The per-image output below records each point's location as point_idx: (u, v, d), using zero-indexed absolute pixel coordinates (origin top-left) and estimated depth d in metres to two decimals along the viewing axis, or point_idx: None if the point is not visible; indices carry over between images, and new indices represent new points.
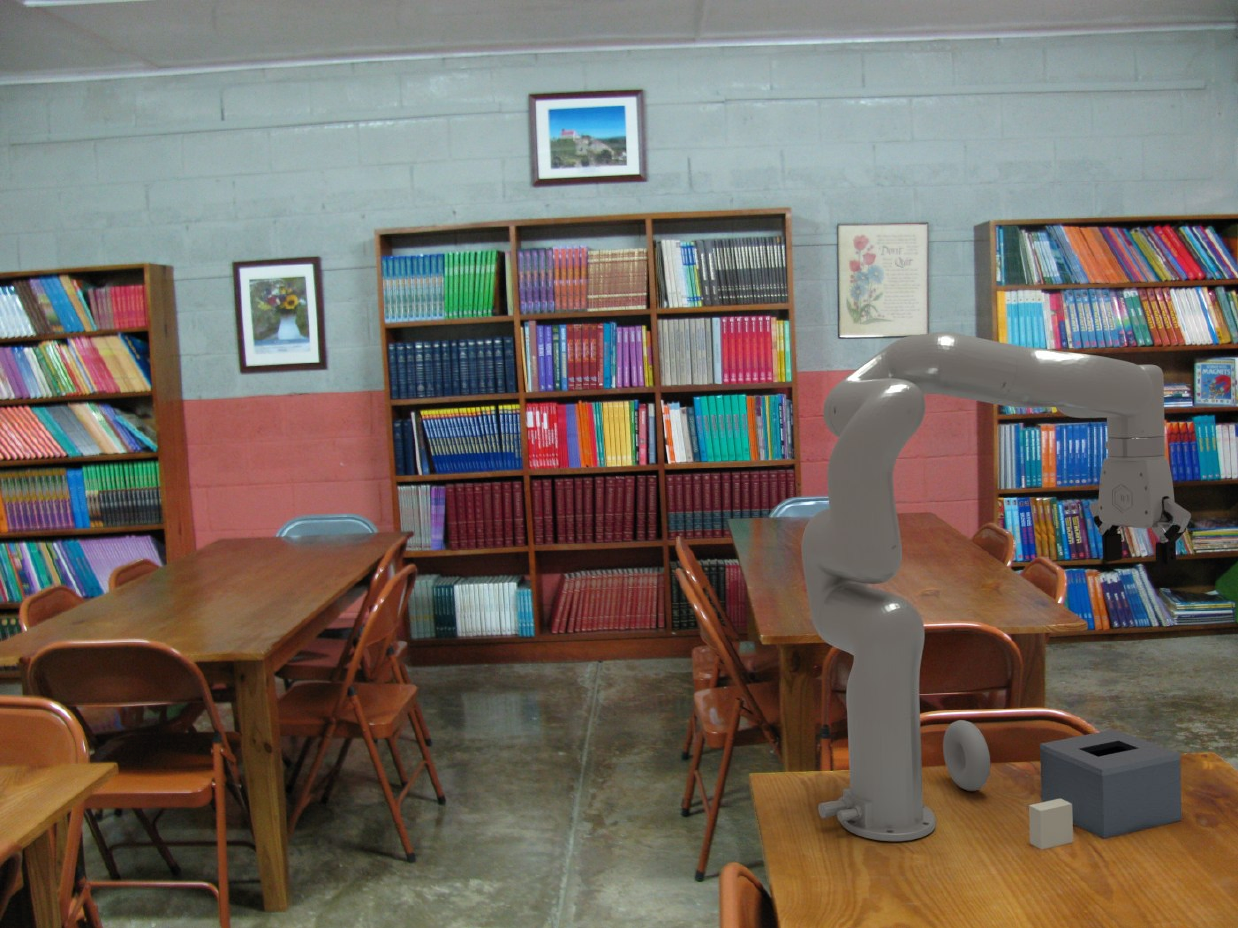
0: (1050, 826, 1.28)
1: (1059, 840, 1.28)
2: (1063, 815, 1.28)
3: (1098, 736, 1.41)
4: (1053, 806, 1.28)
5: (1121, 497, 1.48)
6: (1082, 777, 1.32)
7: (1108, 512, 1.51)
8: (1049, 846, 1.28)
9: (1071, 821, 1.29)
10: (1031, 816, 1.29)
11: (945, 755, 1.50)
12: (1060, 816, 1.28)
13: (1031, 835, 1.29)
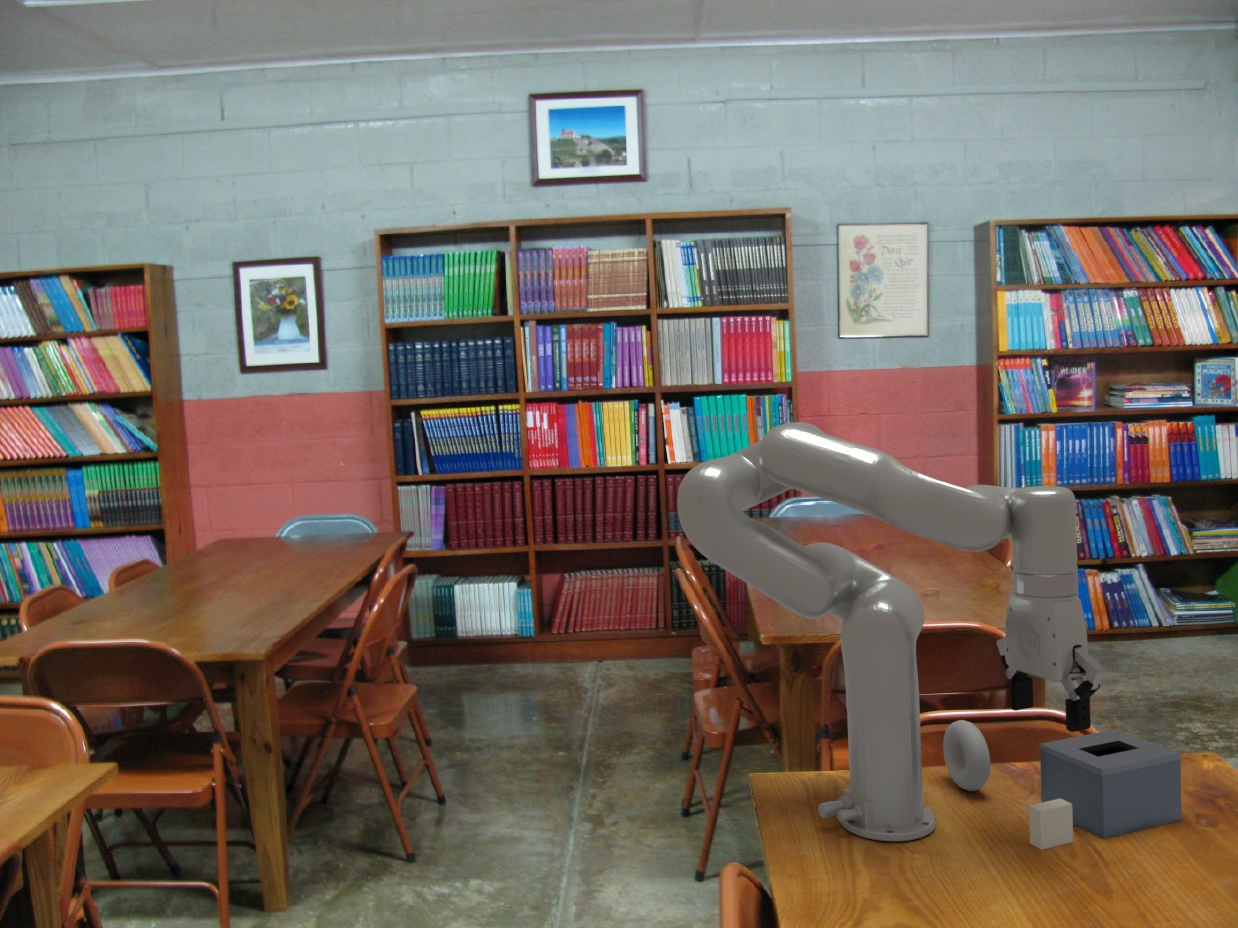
0: (1050, 826, 1.28)
1: (1059, 840, 1.28)
2: (1063, 815, 1.28)
3: (1098, 736, 1.41)
4: (1053, 806, 1.28)
5: (1027, 642, 1.27)
6: (1082, 777, 1.32)
7: (1014, 656, 1.29)
8: (1049, 846, 1.28)
9: (1071, 821, 1.29)
10: (1031, 816, 1.28)
11: (945, 755, 1.50)
12: (1060, 817, 1.28)
13: (1031, 835, 1.29)
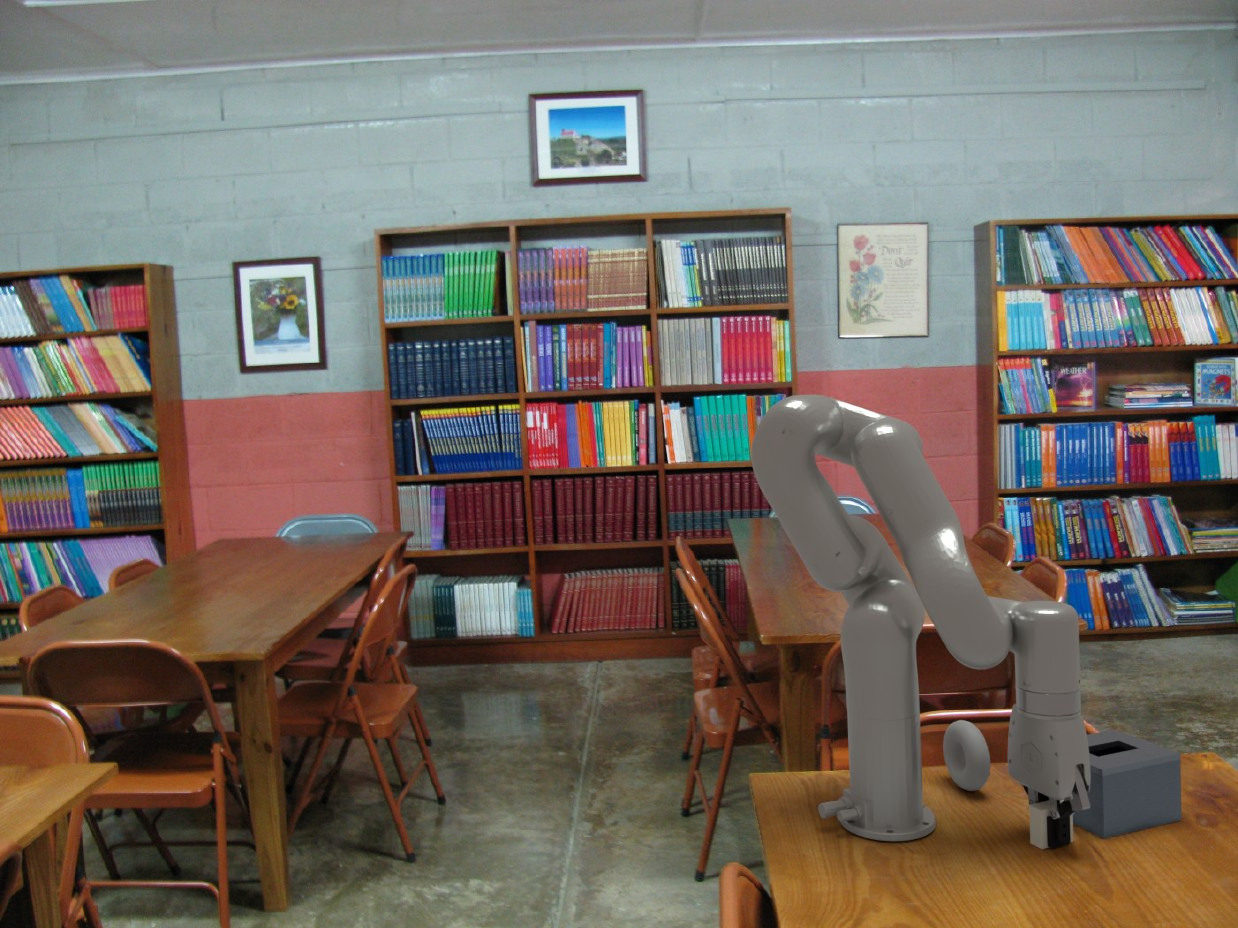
0: None
1: None
2: None
3: (1098, 736, 1.41)
4: None
5: (1030, 757, 1.28)
6: None
7: (1017, 769, 1.30)
8: None
9: (1072, 821, 1.29)
10: (1031, 815, 1.28)
11: (945, 755, 1.50)
12: None
13: (1032, 835, 1.29)
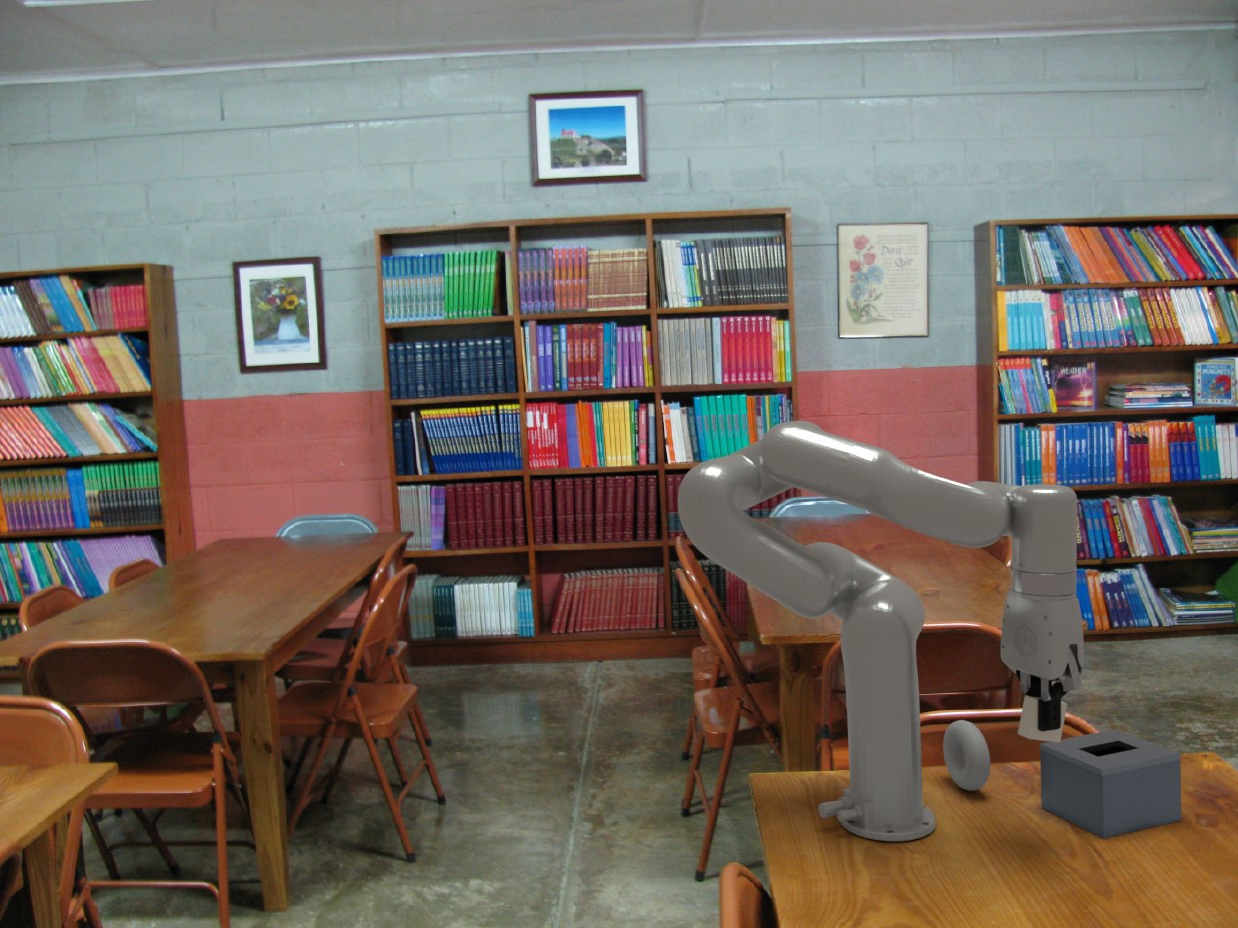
0: None
1: (1047, 735, 1.27)
2: None
3: (1098, 736, 1.41)
4: None
5: (1023, 639, 1.27)
6: (1082, 777, 1.32)
7: (1010, 653, 1.29)
8: (1036, 738, 1.27)
9: (1063, 721, 1.28)
10: (1025, 706, 1.28)
11: (945, 755, 1.50)
12: None
13: (1021, 725, 1.28)
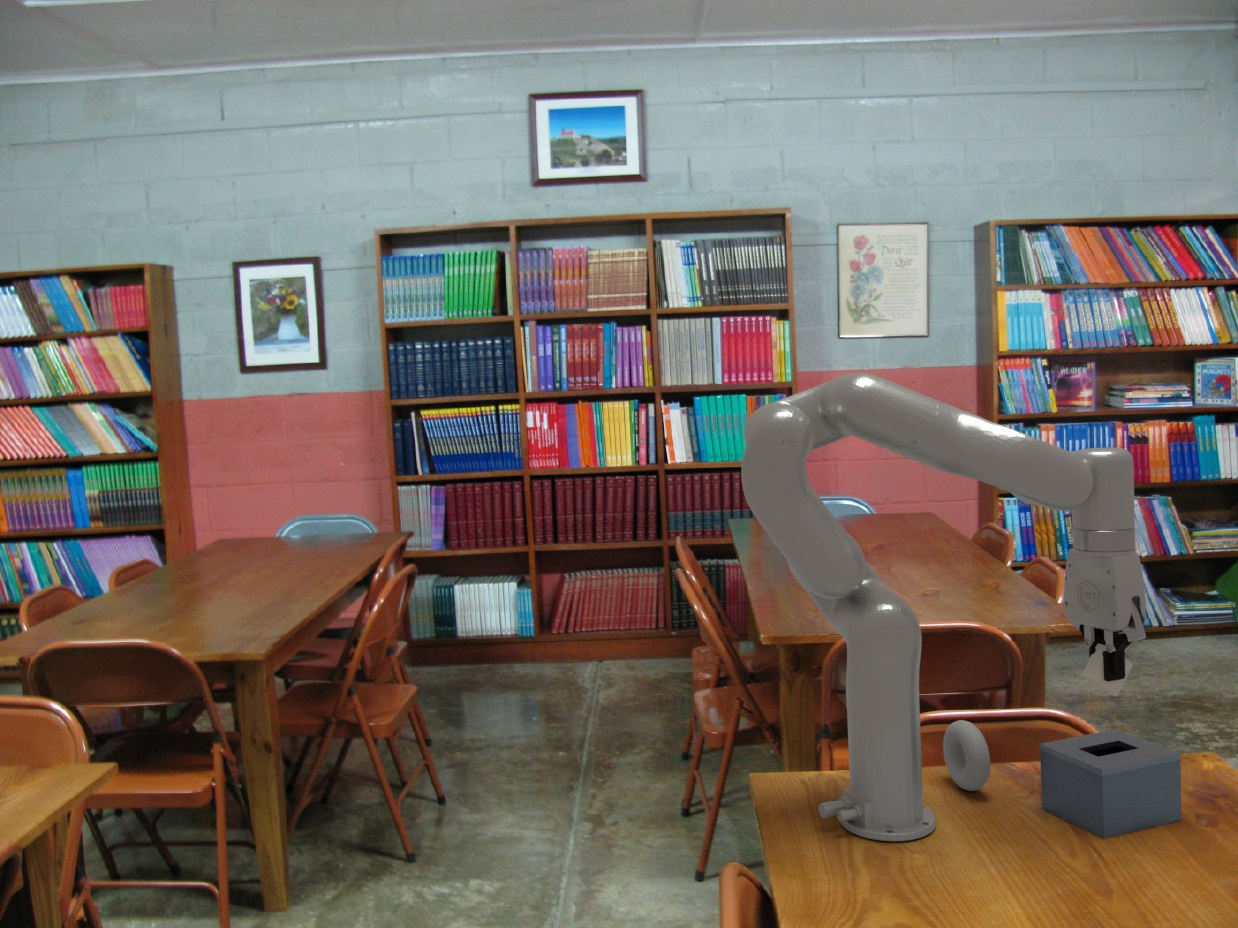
0: None
1: (1108, 685, 1.34)
2: None
3: (1098, 736, 1.41)
4: None
5: (1087, 594, 1.34)
6: (1082, 777, 1.32)
7: (1074, 609, 1.36)
8: (1099, 682, 1.34)
9: (1125, 678, 1.35)
10: (1095, 652, 1.35)
11: (945, 755, 1.50)
12: None
13: (1086, 668, 1.35)
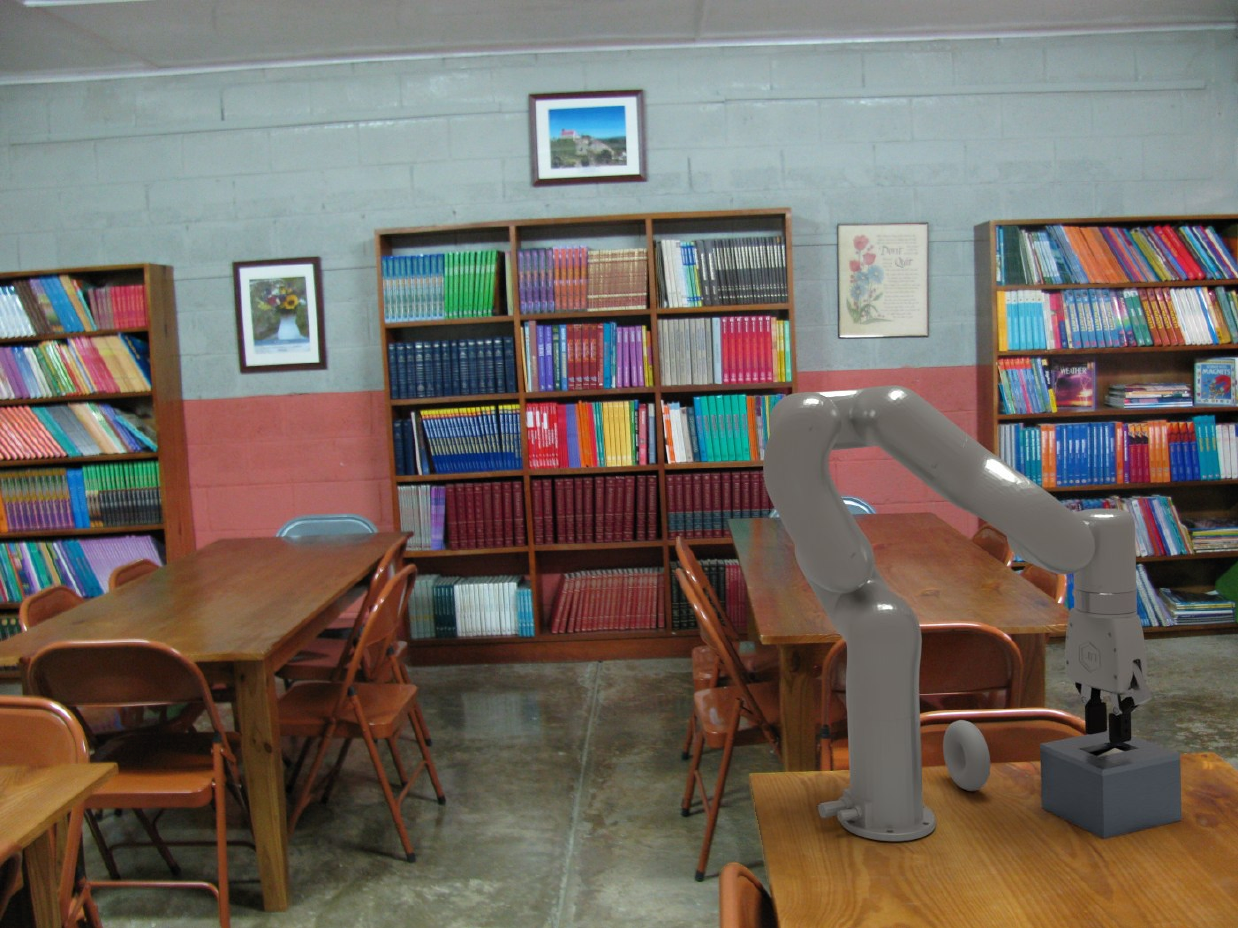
0: None
1: None
2: None
3: (1098, 736, 1.41)
4: None
5: (1088, 655, 1.34)
6: (1082, 777, 1.32)
7: (1075, 669, 1.37)
8: None
9: None
10: None
11: (945, 755, 1.50)
12: None
13: None
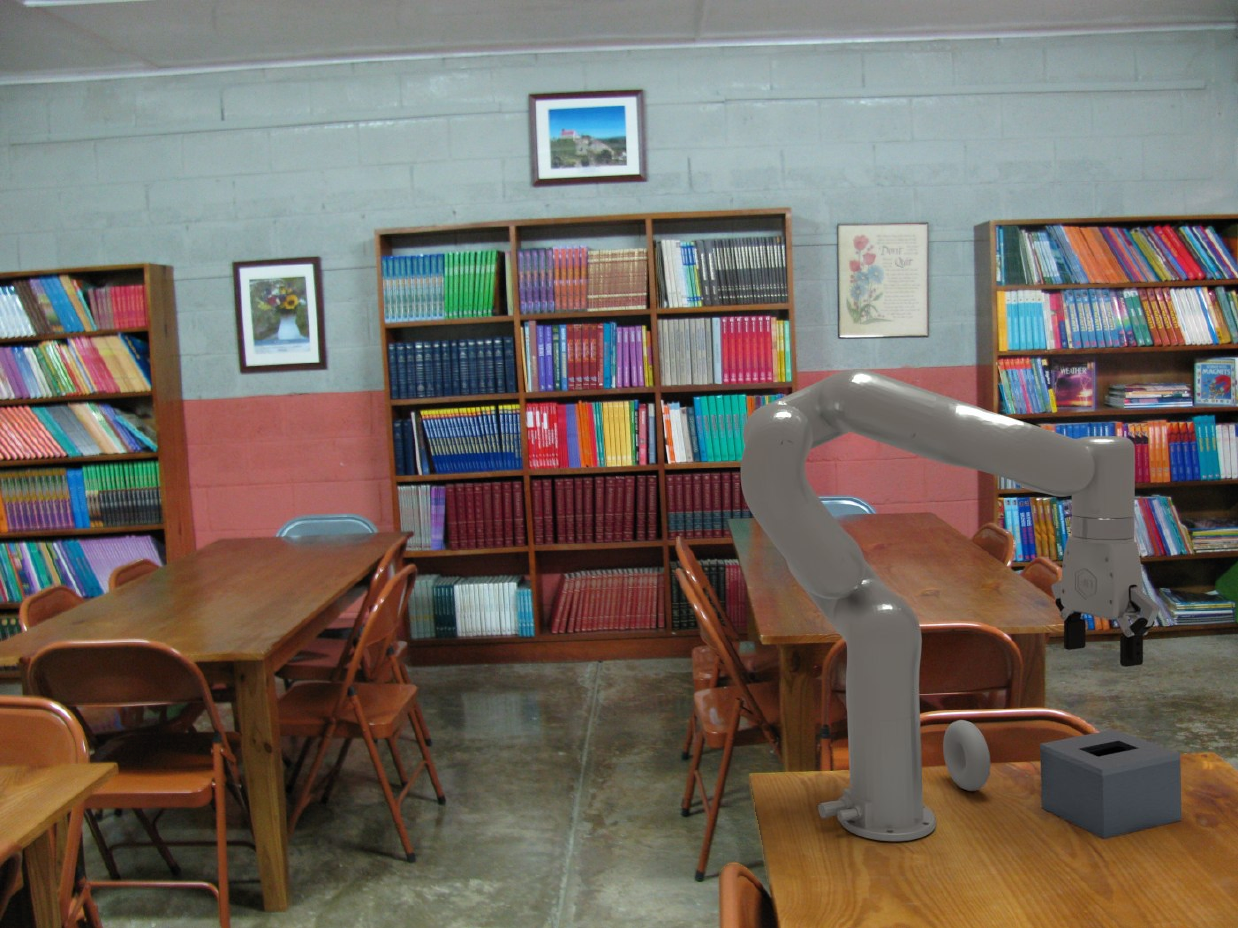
0: None
1: None
2: None
3: (1098, 736, 1.41)
4: None
5: (1084, 582, 1.34)
6: (1082, 777, 1.32)
7: (1070, 597, 1.36)
8: None
9: None
10: None
11: (945, 755, 1.50)
12: None
13: None
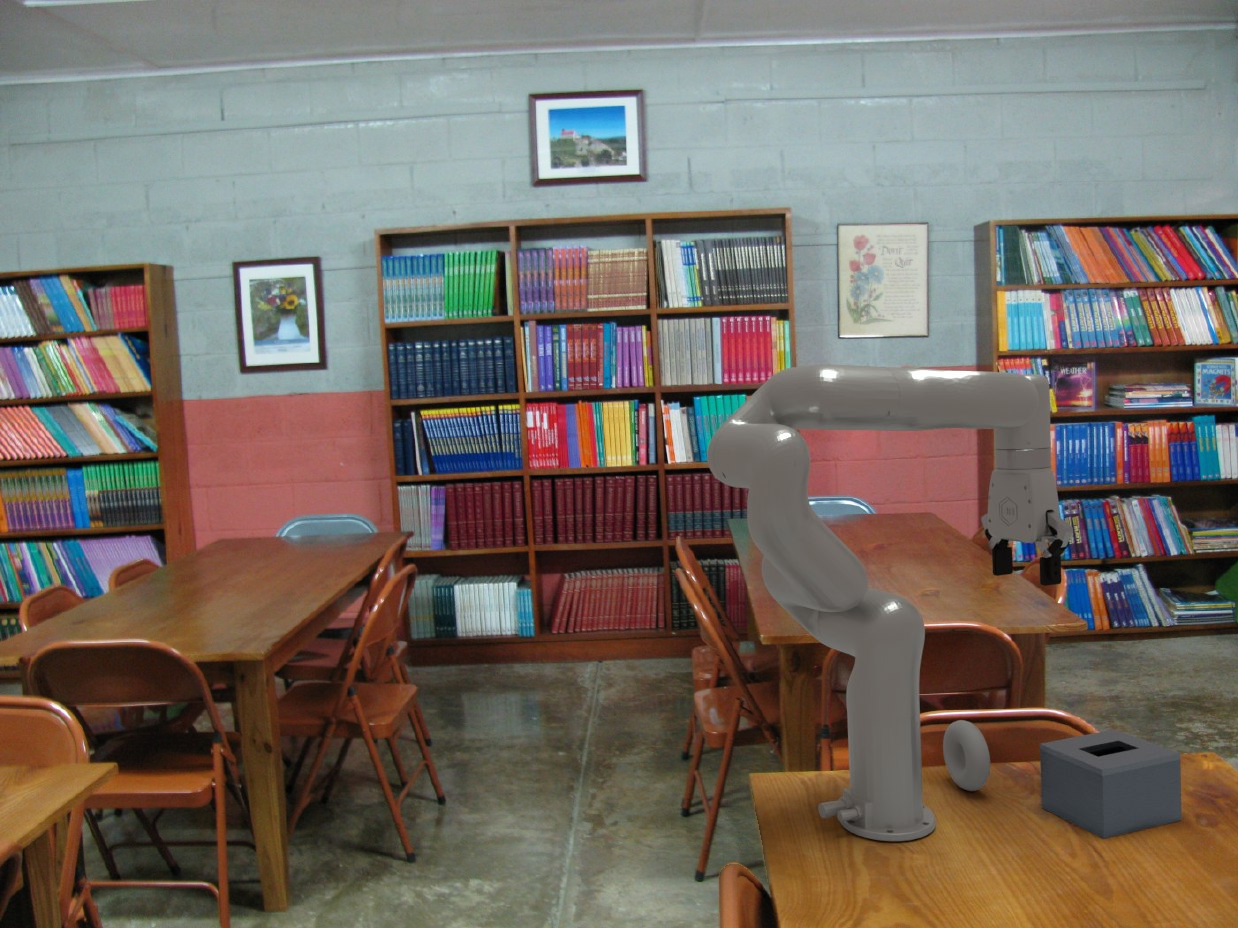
0: None
1: None
2: None
3: (1098, 736, 1.41)
4: None
5: (1007, 510, 1.44)
6: (1082, 777, 1.32)
7: (996, 525, 1.47)
8: None
9: None
10: None
11: (945, 755, 1.50)
12: None
13: None
